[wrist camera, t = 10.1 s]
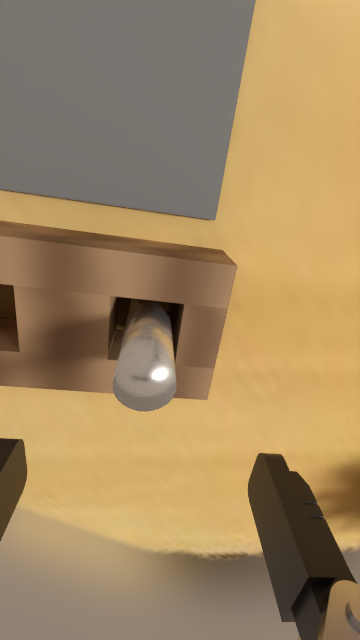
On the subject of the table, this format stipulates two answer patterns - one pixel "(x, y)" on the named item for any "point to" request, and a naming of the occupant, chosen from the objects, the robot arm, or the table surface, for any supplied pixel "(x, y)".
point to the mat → (121, 99)
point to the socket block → (105, 306)
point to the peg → (146, 357)
